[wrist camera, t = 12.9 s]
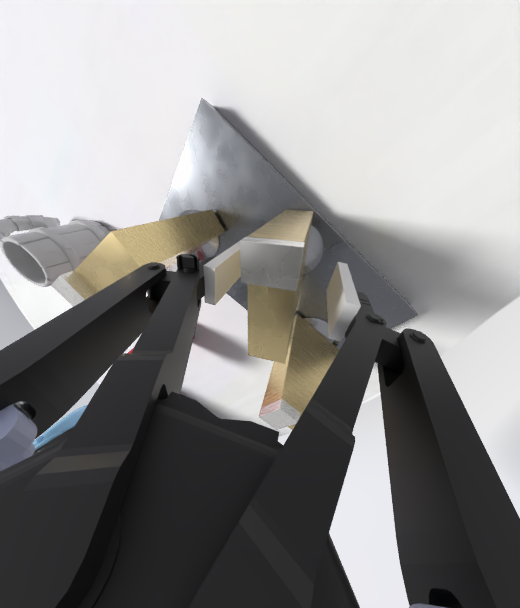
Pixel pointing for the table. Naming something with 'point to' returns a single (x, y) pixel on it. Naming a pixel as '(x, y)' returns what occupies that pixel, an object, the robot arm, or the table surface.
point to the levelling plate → (266, 218)
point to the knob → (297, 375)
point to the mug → (48, 245)
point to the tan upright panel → (137, 252)
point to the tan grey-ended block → (274, 281)
